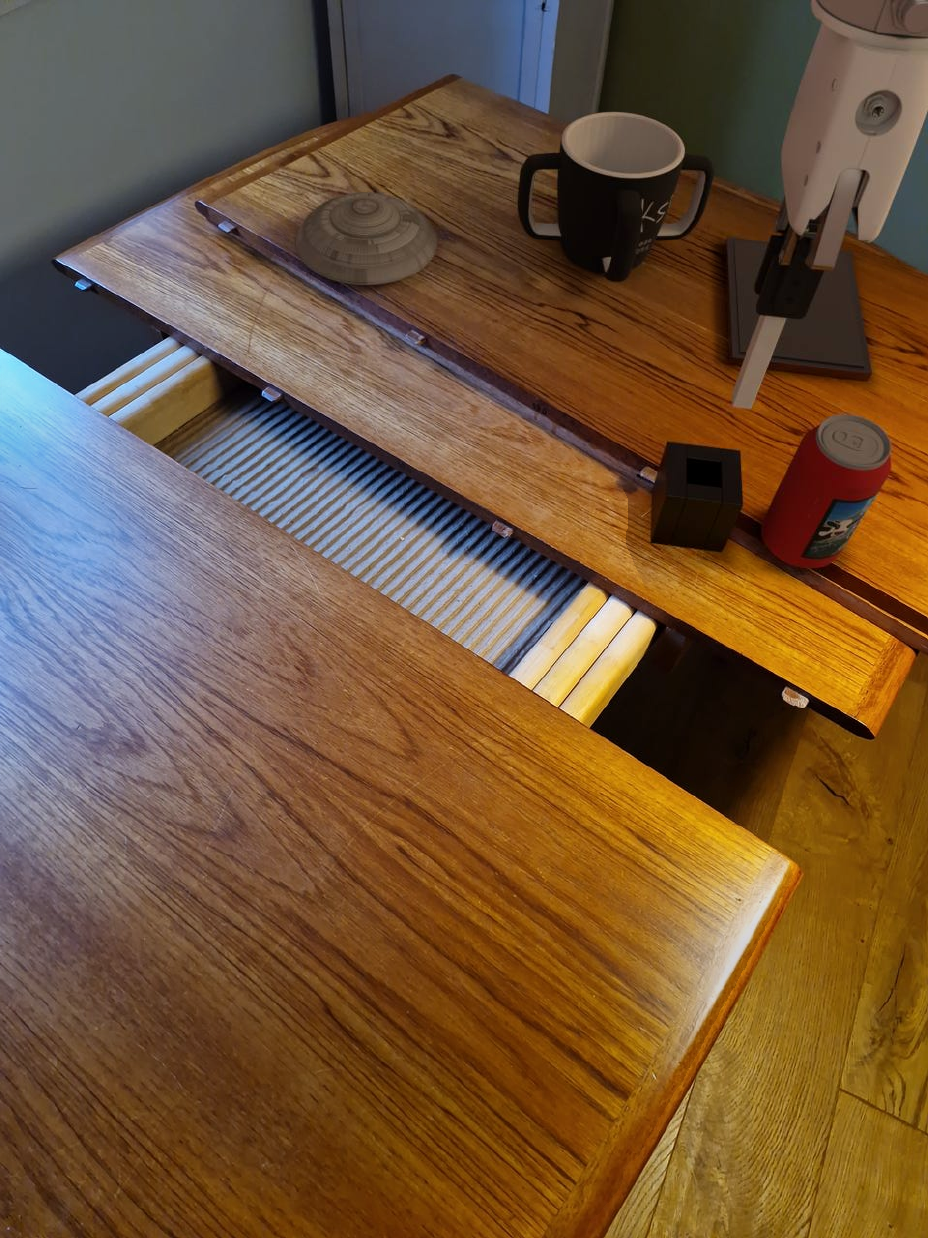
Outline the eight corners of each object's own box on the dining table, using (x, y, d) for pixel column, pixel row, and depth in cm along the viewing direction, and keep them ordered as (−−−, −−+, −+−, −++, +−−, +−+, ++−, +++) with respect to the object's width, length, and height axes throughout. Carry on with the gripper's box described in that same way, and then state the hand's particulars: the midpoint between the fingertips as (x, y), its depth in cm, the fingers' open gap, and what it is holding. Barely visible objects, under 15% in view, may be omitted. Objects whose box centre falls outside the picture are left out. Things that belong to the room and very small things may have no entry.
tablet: (847, 259, 98) (851, 249, 97) (868, 381, 87) (873, 372, 86) (724, 245, 99) (727, 235, 98) (729, 364, 88) (732, 355, 87)
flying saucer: (453, 226, 99) (454, 178, 94) (415, 308, 91) (415, 260, 86) (324, 202, 100) (319, 154, 96) (275, 281, 92) (268, 232, 88)
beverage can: (822, 587, 73) (886, 487, 63) (745, 551, 74) (794, 448, 65) (848, 533, 76) (912, 430, 66) (774, 500, 78) (825, 394, 68)
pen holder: (720, 499, 78) (740, 450, 73) (722, 553, 74) (743, 505, 69) (651, 490, 78) (667, 440, 73) (650, 543, 75) (666, 495, 70)
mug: (603, 319, 91) (625, 208, 81) (498, 244, 97) (506, 133, 87) (707, 260, 97) (740, 150, 87) (602, 193, 104) (621, 84, 94)
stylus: (750, 396, 66) (817, 220, 55) (751, 409, 65) (819, 233, 54) (731, 394, 66) (794, 218, 55) (731, 407, 66) (796, 231, 54)
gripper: (1010, 64, 39) (848, 390, 54) (948, -71, 48) (823, 242, 63) (837, 48, 40) (724, 376, 55) (807, -83, 48) (717, 231, 64)
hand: (778, 302), depth 59 cm, fingers closed on stylus, 1 cm apart
